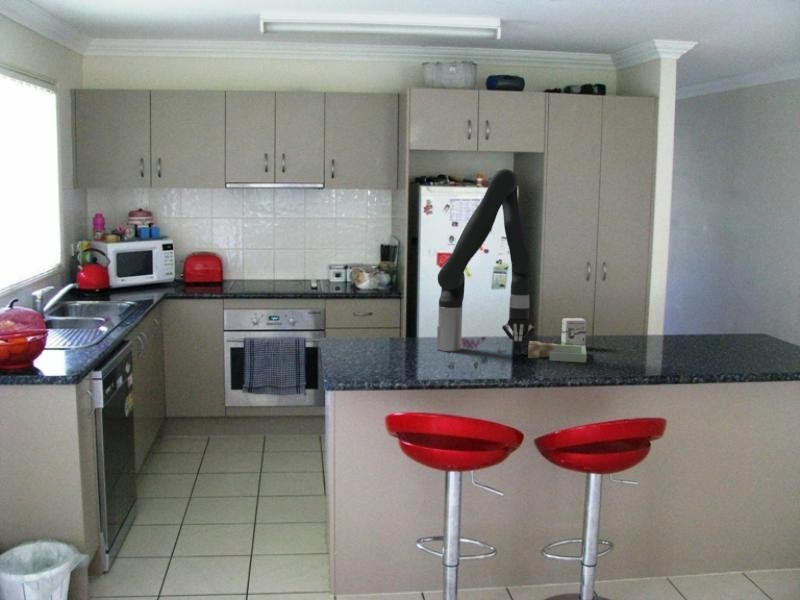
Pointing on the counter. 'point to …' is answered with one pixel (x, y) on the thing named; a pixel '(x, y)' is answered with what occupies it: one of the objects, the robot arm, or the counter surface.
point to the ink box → (573, 331)
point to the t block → (540, 349)
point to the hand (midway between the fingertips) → (517, 350)
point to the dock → (569, 353)
